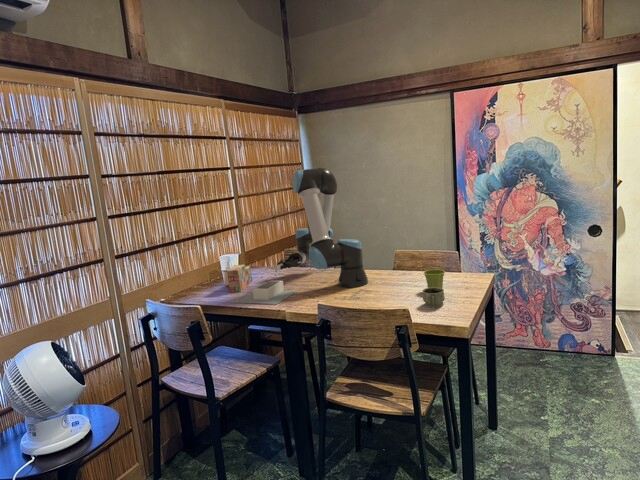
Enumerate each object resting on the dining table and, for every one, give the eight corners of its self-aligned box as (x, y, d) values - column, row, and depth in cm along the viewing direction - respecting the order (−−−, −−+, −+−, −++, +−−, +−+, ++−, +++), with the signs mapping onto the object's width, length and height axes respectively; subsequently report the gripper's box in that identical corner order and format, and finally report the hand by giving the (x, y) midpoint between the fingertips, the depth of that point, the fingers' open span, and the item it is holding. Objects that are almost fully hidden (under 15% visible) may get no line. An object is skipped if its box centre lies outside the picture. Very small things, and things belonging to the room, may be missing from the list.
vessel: (423, 300, 184) (422, 286, 183) (445, 300, 182) (444, 285, 181) (422, 309, 173) (421, 294, 172) (445, 309, 171) (444, 294, 170)
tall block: (282, 280, 220) (266, 289, 206) (284, 290, 221) (267, 299, 207) (269, 280, 224) (252, 288, 210) (270, 289, 225) (253, 299, 210)
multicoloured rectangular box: (242, 282, 250) (239, 261, 248) (252, 281, 249) (250, 260, 247) (229, 292, 229) (226, 270, 227) (241, 292, 228) (237, 269, 226)
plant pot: (434, 294, 190) (433, 275, 189) (420, 290, 199) (419, 272, 197) (450, 290, 195) (449, 271, 193) (435, 286, 203) (434, 268, 201)
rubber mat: (296, 292, 217) (296, 291, 217) (276, 304, 199) (276, 303, 199) (256, 290, 227) (256, 289, 227) (234, 302, 209) (234, 301, 209)
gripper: (307, 265, 242) (287, 276, 221) (287, 265, 247) (266, 276, 226) (306, 252, 241) (286, 262, 219) (286, 252, 246) (264, 262, 225)
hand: (276, 269), depth 223 cm, fingers closed
